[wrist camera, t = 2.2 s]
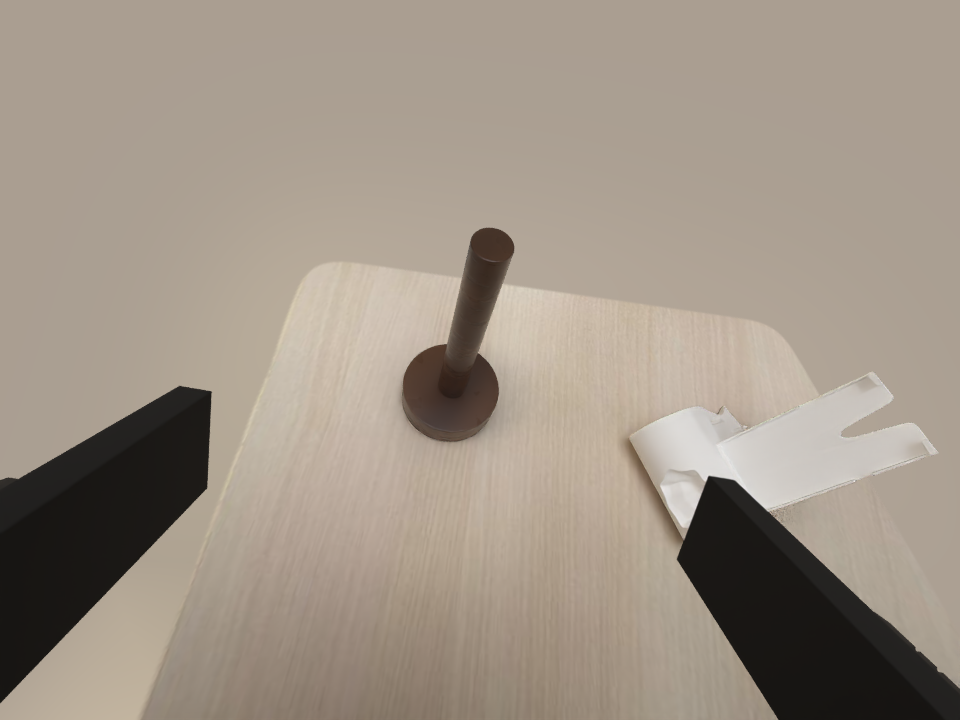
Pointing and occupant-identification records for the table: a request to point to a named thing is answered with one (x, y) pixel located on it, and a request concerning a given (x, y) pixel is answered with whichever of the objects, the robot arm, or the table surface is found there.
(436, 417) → the wooden stand
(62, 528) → the robot arm
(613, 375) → the table surface
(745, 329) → the table surface
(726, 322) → the table surface
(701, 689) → the table surface
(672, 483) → the plastic part
